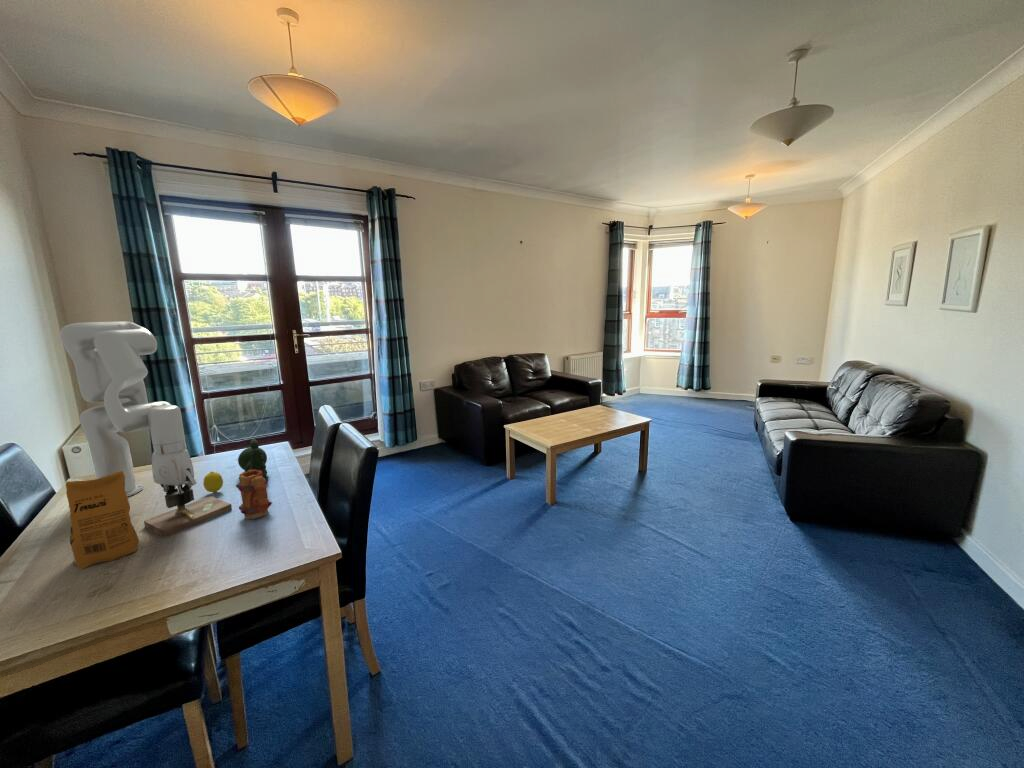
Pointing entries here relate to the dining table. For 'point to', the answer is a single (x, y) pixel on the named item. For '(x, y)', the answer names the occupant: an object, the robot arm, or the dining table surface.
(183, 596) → the dining table surface
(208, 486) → the lemon
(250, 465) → the toy figurine
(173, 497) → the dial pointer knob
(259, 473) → the orange lumpy cylinder
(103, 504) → the coffee package
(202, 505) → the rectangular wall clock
